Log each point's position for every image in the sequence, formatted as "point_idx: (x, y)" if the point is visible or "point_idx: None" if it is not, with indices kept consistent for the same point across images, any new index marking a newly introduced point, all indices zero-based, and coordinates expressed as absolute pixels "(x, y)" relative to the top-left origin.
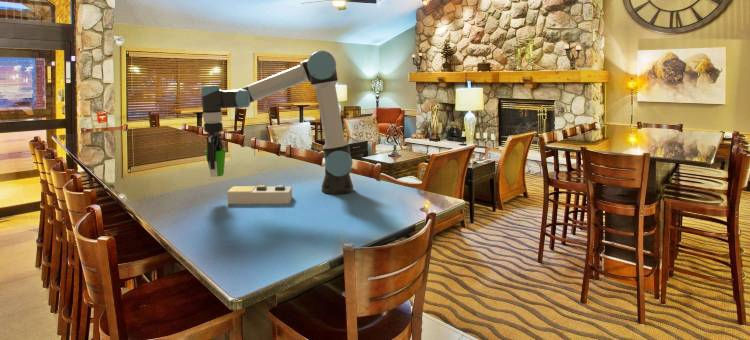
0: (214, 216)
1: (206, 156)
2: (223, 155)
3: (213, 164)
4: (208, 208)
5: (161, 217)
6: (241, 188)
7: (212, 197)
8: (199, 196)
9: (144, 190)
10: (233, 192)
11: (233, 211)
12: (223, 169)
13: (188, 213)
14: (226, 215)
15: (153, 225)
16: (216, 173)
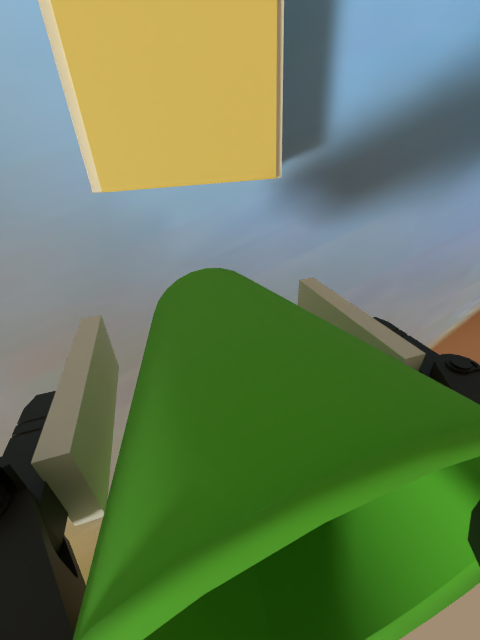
0: (439, 165)
1: (346, 531)
2: (372, 359)
3: (421, 345)
4: (324, 242)
5: None
6: (168, 79)
7: (128, 313)
8: (123, 377)
9: (83, 568)
10: (281, 125)
11: (391, 90)
12: (225, 278)
13: (377, 286)
14: (442, 110)
15: (463, 318)
16: (327, 291)
